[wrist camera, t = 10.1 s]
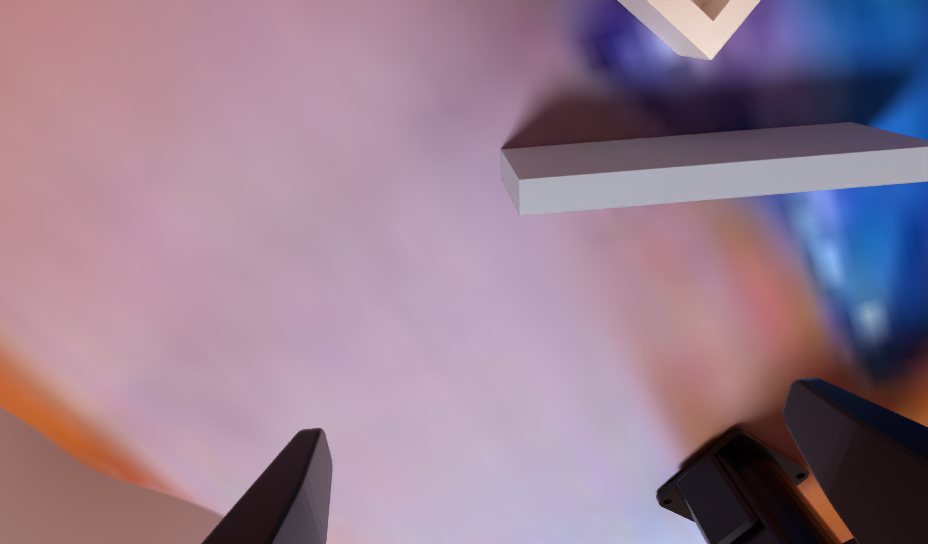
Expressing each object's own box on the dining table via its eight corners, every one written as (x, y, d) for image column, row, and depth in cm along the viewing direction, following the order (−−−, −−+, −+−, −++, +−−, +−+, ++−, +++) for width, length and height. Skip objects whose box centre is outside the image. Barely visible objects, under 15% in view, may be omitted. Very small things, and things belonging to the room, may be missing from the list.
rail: (850, 121, 20) (945, 145, 16) (841, 151, 20) (931, 180, 17) (500, 149, 19) (519, 179, 15) (501, 179, 20) (519, 215, 16)
